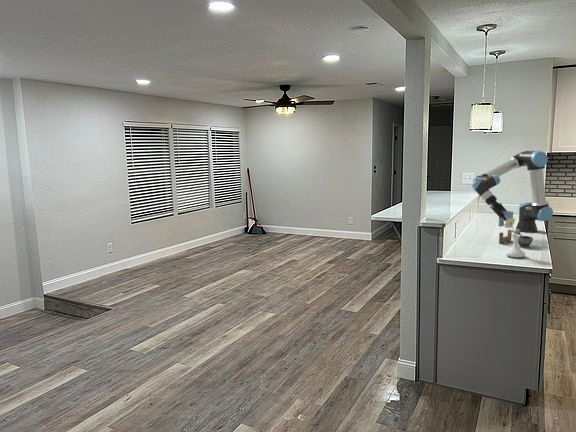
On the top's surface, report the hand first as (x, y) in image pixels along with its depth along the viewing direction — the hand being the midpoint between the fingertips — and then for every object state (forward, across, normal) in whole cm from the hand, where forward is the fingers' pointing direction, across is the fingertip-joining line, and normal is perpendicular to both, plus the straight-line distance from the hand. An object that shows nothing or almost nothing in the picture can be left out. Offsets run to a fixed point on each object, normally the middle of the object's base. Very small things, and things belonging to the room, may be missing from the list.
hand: (511, 222), depth 308 cm
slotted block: (0, 0, -5) cm, 5 cm away
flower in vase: (+24, +36, +2) cm, 43 cm away
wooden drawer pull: (+8, 0, -13) cm, 15 cm away
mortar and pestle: (+19, +6, -2) cm, 20 cm away
